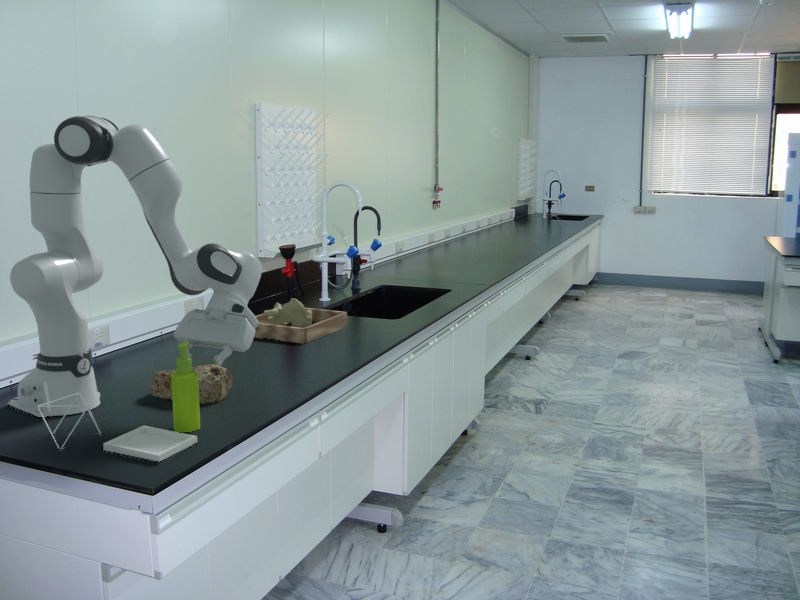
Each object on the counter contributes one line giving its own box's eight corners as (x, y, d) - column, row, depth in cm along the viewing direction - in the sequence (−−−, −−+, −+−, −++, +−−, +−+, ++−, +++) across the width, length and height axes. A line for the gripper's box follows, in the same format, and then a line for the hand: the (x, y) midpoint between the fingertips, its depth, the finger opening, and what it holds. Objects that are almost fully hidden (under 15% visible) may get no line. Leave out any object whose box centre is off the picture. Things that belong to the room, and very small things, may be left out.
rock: (142, 403, 196) (143, 363, 197) (178, 399, 210) (179, 363, 211) (208, 404, 189) (209, 363, 189) (242, 401, 202) (242, 363, 203)
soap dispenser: (203, 422, 180) (200, 339, 176) (197, 433, 173) (193, 347, 169) (178, 422, 180) (174, 339, 176) (171, 433, 173) (166, 347, 169)
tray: (103, 451, 162) (103, 443, 162) (144, 433, 173) (143, 425, 172) (159, 463, 156) (158, 455, 156) (197, 443, 167) (197, 436, 166)
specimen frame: (239, 335, 264) (238, 321, 263) (287, 318, 291) (287, 305, 291) (305, 343, 254) (304, 329, 253) (348, 325, 281) (348, 312, 280)
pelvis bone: (268, 315, 283) (300, 292, 283) (289, 346, 281) (322, 322, 282) (256, 309, 263) (290, 284, 264) (279, 341, 261) (314, 316, 262)
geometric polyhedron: (96, 427, 176) (93, 389, 175) (106, 442, 167) (103, 402, 165) (37, 438, 170) (33, 398, 168) (43, 454, 161) (40, 413, 159)
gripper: (183, 301, 187) (158, 349, 180) (253, 308, 179) (229, 359, 172) (196, 315, 192) (171, 363, 185) (264, 323, 184) (241, 373, 177)
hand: (200, 361), depth 178 cm, fingers open, 8 cm apart
